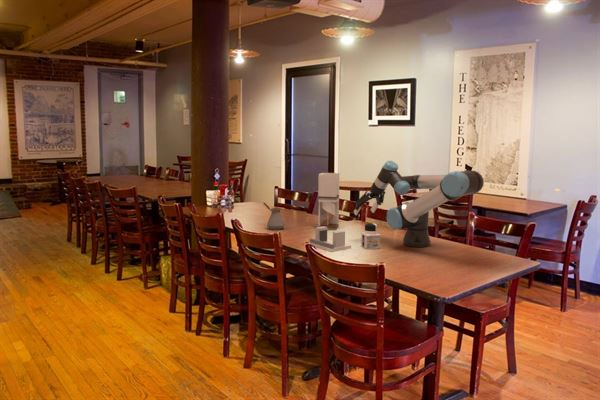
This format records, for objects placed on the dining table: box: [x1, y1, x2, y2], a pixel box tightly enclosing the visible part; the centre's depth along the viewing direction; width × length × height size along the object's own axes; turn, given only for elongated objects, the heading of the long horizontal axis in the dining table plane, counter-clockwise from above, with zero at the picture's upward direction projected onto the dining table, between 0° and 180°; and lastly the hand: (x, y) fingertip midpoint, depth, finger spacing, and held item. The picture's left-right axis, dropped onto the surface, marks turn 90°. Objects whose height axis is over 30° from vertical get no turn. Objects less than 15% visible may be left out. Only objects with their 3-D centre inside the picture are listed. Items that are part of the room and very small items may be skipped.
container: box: [360, 222, 381, 250], centre depth 284 cm, size 8×8×13 cm
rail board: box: [308, 226, 352, 253], centre depth 285 cm, size 19×14×10 cm
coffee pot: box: [262, 202, 286, 231], centre depth 336 cm, size 21×12×15 cm, turn 34°
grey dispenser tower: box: [317, 172, 340, 231], centre depth 333 cm, size 11×11×35 cm
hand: (363, 212), depth 305 cm, fingers open, 13 cm apart
